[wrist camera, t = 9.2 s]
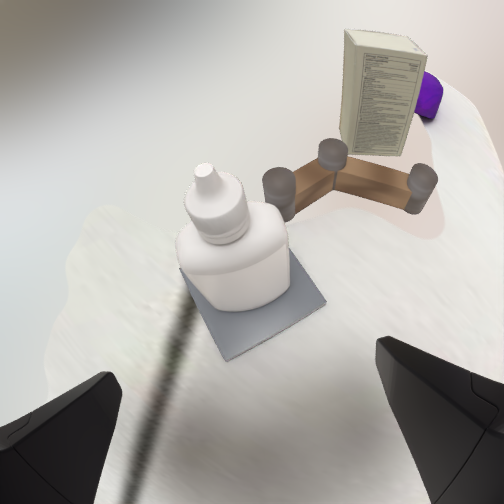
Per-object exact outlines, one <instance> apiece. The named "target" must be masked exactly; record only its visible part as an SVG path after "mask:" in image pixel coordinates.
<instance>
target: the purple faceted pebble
mask: <svg viewBox="0 0 504 504" xmlns="http://www.w3.org/2000/svg"><path fill="white" fill-rule="evenodd" d="M442 96H443V87H442V85H441V84H440V82H439V80H438V79H437V78H436V77H434V76H433V75H431V74H430V73H428V72H425V71H424V75H423V79H422V83H421V87H420V92H419V96H418V99H417V103H416V107H415V110H414V113H416V114H419V115H421V116H424V117H427V118H430V119H432V118H435V115H436V113H437V110H438V108H439V105H440V102H441V99H442Z"/></svg>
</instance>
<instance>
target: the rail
mask: <svg viewBox="0 0 504 504" xmlns="http://www.w3.org/2000/svg"><path fill="white" fill-rule="evenodd" d="M347 155H348V147H347V145H346V144H345V143H344V142H342V141H341V140H338V139H333V138H329V139H325V140H323V141H321V143H320V144H319V151H318V158H317V159H315V160H313V161H311V162H310V163H308V164H306V165H304V166H303V167H301V168H299V169H297V170H296V171H294V172H292V171H290V170H289V169H287V168H283V167H277V168H272V169H270V170H268V171H267V172H266V173H265V174H264V176H263V179H262V181H263V188H264V195H265V202H266V203H269V204H272V205H274V206H275V207H276V208H277V209H278V210H279V212H280V214H281V216H282V218H283V220H284V223H285V222H288V221H290V220H291V219H292V218H293V217H294V216H295V214H297V213H298V212H300V211H301V210H303V209H304V208H306V207H307V206H309V205H310V204H312V203H313V202H315V201H316V200H318V199H319V198H321V197H323V196H324V195H326V194H327V193H329V192H330V191H332V190H337V191H340V192H345V193H348V194H352V195H355V196H359V197H362V198H366V199H369V200H373V201H376V202H380V203H383V204H387V205H390V206H393V207H396V208H400V209H403V210H404V211H406V212H407V213H410V214H419V213H420V212H421V211H422V209H423V207H424V205H425V204H426V202H427V200H428V198H429V197H430V195H431V193H432V191H433V189H434V188H435V186H436V184H437V182H438V176H437V174H436V172H435V171H434V170H433V169H432V168H431V167H429V166H428V165H425V164H421V163H418V164H415V165H414V166H413V167H412V169H411V172H410V174H407V173H404V172H401V171H398V170H395V169H391V168H388V167H384V166H381V165H378V164H374V163H370V162H366V161H363V160H359V159H356V158H352V157H348V156H347Z"/></svg>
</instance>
